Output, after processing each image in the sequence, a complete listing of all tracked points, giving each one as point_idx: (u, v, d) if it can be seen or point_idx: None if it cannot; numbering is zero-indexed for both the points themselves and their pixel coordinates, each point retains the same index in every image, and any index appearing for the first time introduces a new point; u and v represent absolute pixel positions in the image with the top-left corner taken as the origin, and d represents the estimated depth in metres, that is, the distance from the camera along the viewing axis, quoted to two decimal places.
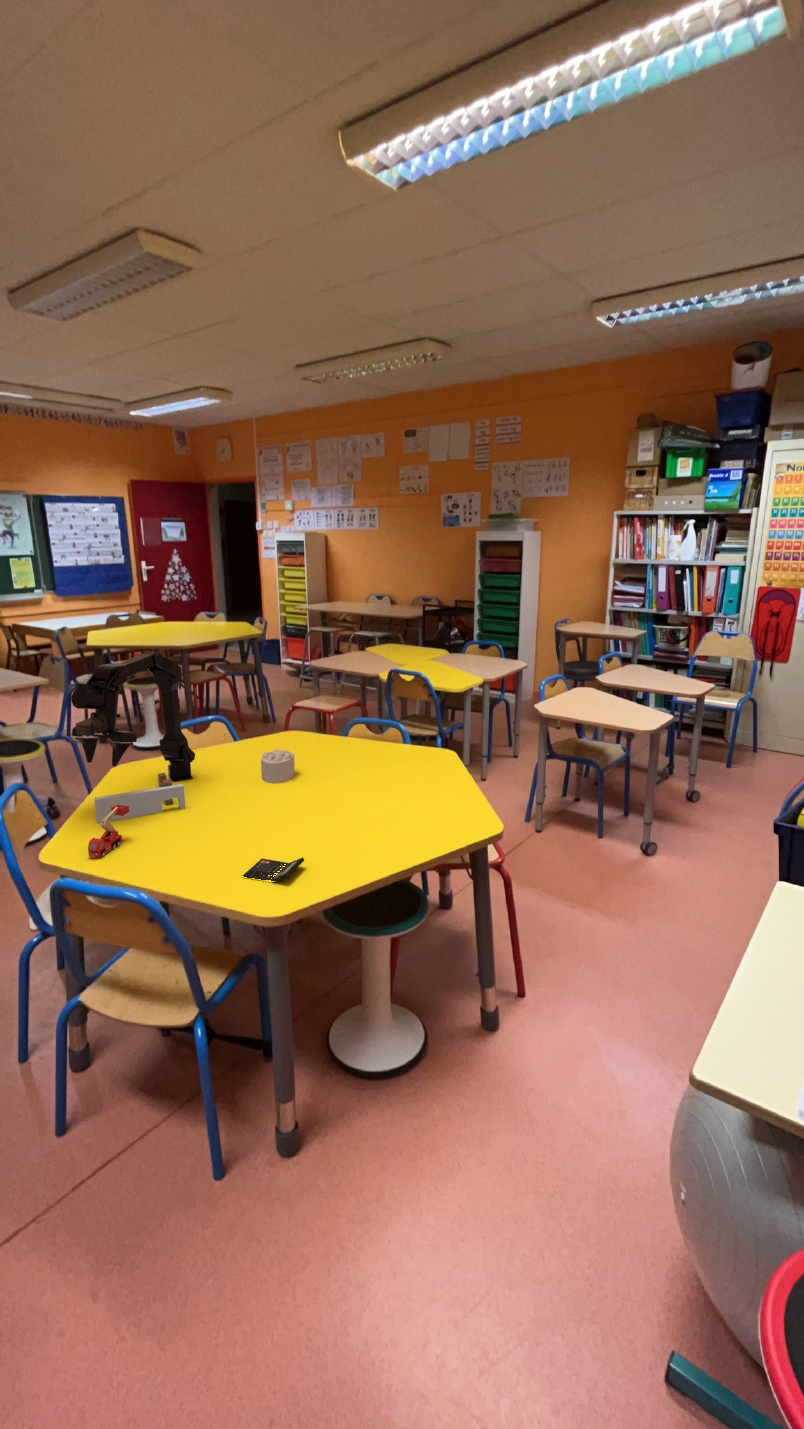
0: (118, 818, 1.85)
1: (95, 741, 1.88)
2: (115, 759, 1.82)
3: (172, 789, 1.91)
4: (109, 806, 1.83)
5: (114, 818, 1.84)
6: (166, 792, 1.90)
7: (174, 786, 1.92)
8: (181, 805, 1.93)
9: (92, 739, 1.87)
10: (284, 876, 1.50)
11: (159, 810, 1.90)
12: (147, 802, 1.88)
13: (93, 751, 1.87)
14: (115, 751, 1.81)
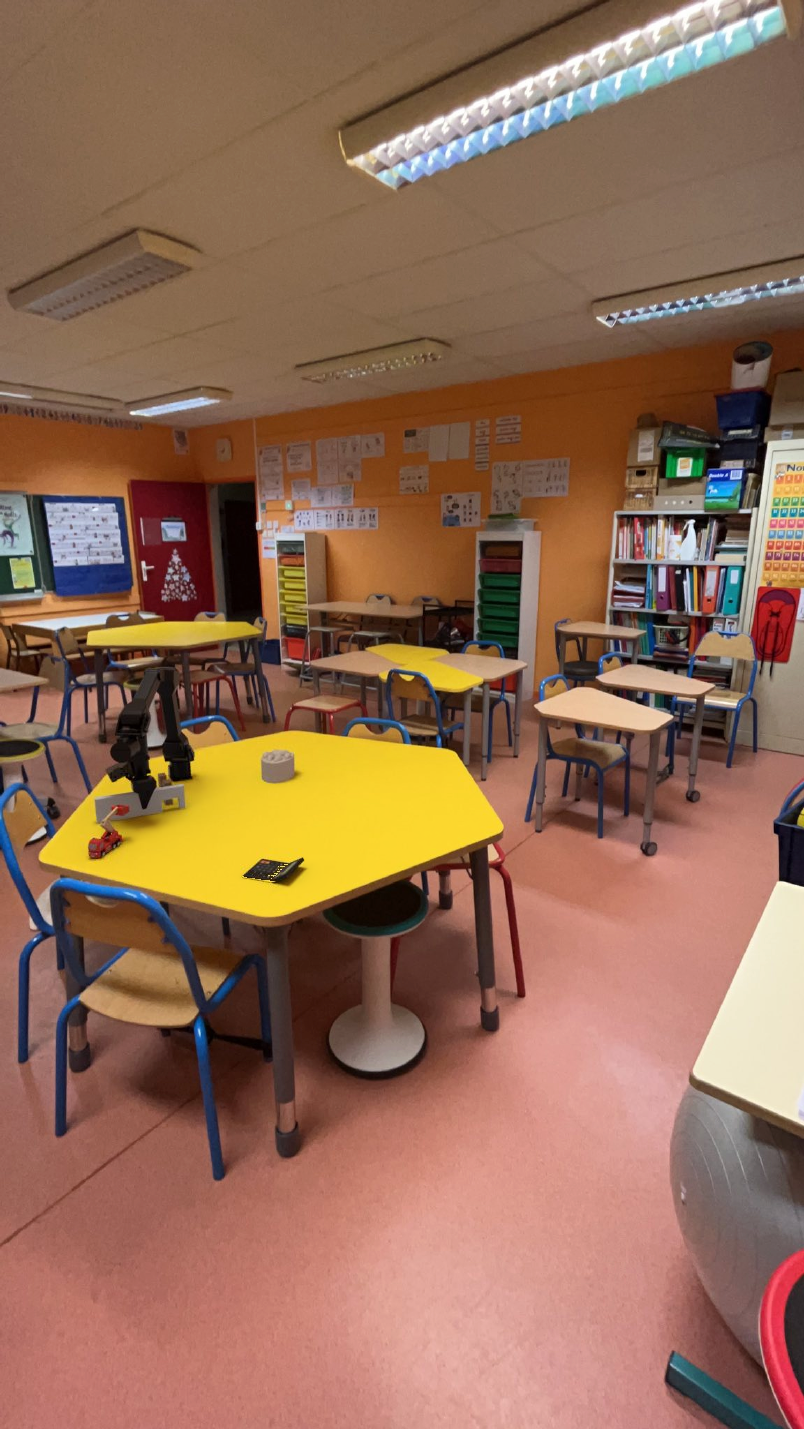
0: (118, 818, 1.85)
1: None
2: (142, 803, 1.83)
3: (172, 789, 1.91)
4: (109, 806, 1.83)
5: (114, 818, 1.84)
6: (166, 792, 1.90)
7: (174, 786, 1.92)
8: (181, 805, 1.93)
9: None
10: (284, 876, 1.50)
11: (159, 810, 1.90)
12: None
13: None
14: (139, 796, 1.82)
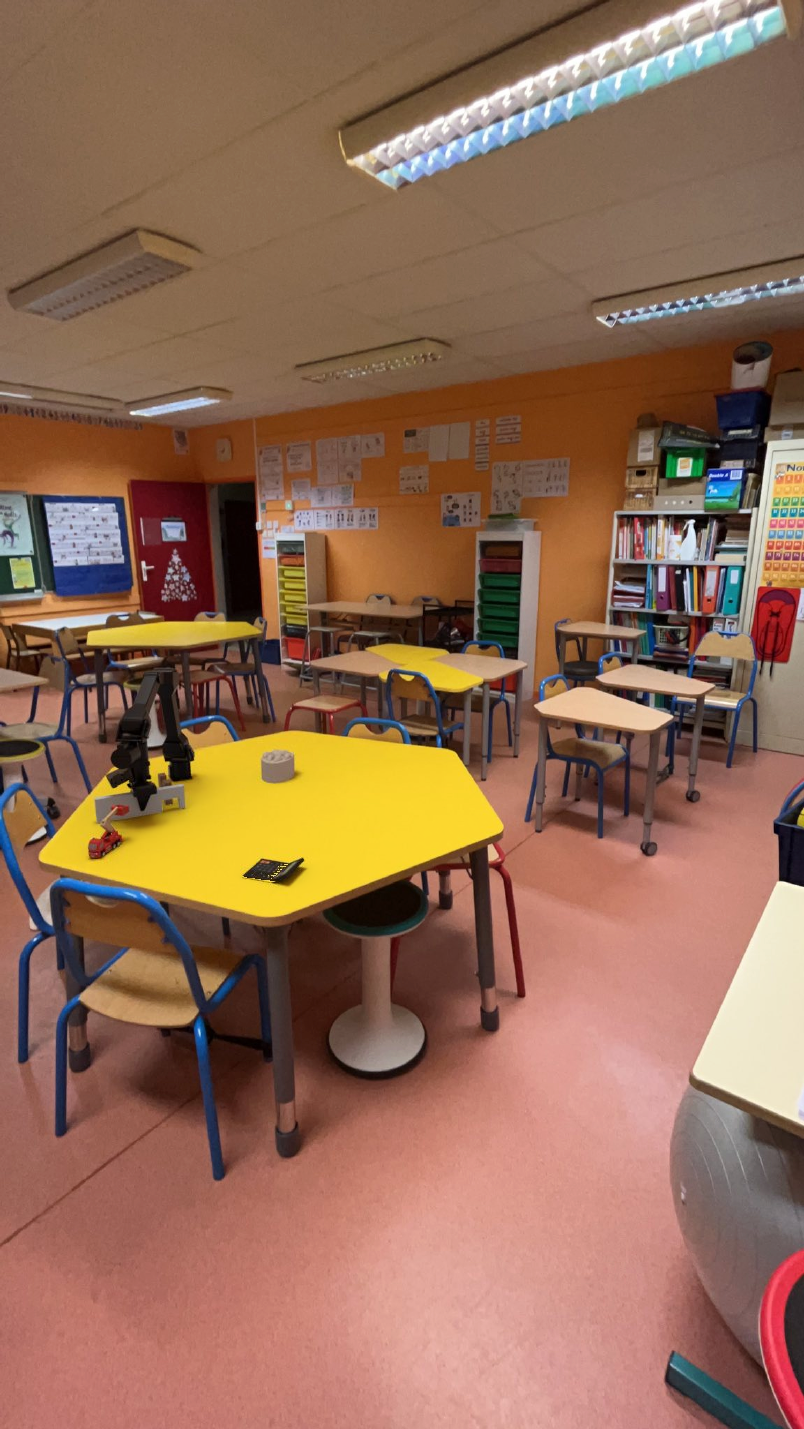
0: (118, 818, 1.85)
1: None
2: (140, 805, 1.86)
3: (172, 789, 1.91)
4: (109, 806, 1.83)
5: (114, 818, 1.84)
6: (166, 792, 1.90)
7: (174, 786, 1.92)
8: (181, 805, 1.93)
9: None
10: (284, 876, 1.50)
11: (159, 810, 1.90)
12: None
13: None
14: (137, 798, 1.85)
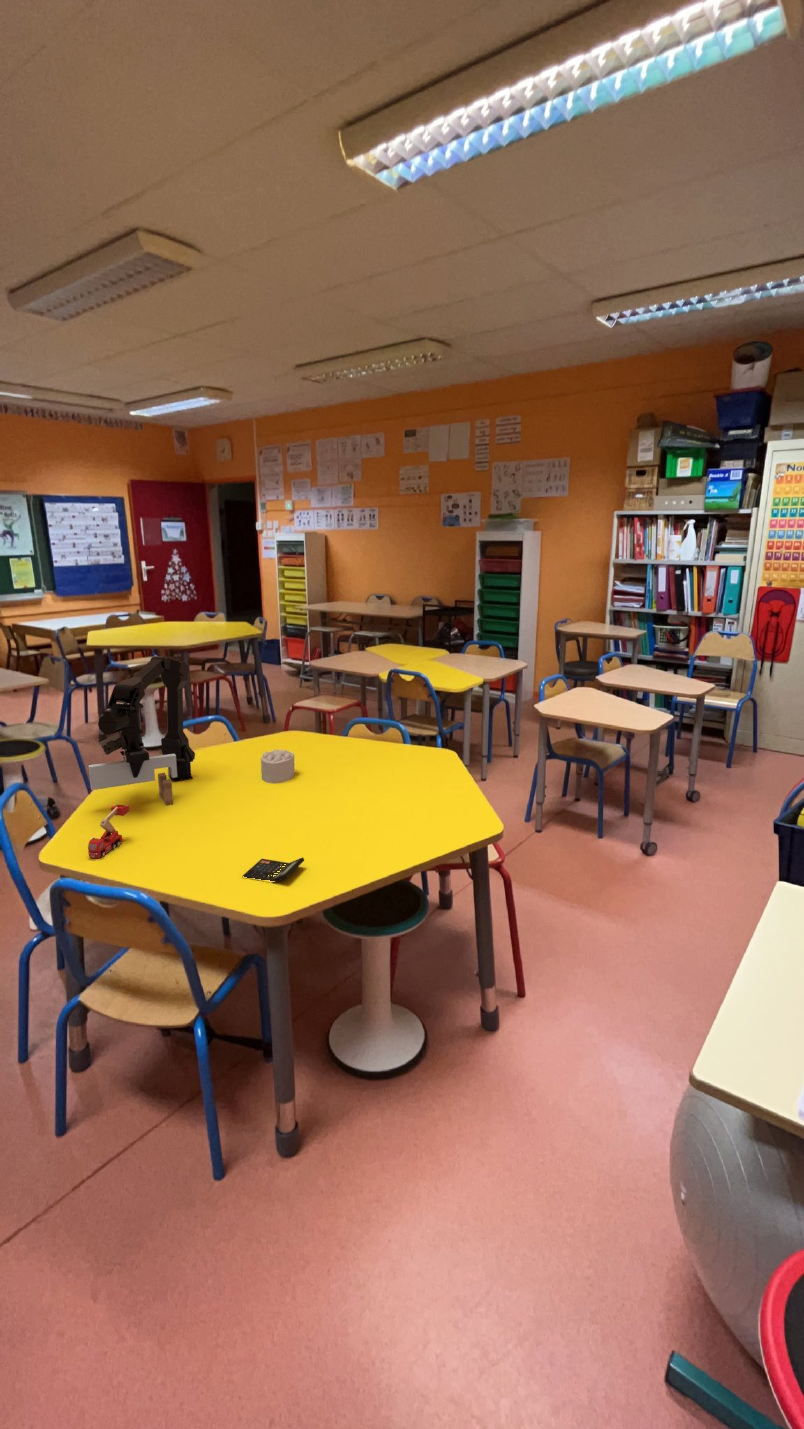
0: (112, 785, 1.91)
1: None
2: (133, 771, 1.92)
3: (164, 758, 1.97)
4: (103, 773, 1.89)
5: (108, 785, 1.90)
6: (159, 761, 1.96)
7: (166, 755, 1.98)
8: (173, 774, 1.99)
9: None
10: (284, 876, 1.50)
11: (151, 779, 1.96)
12: (140, 770, 1.94)
13: None
14: (130, 765, 1.91)
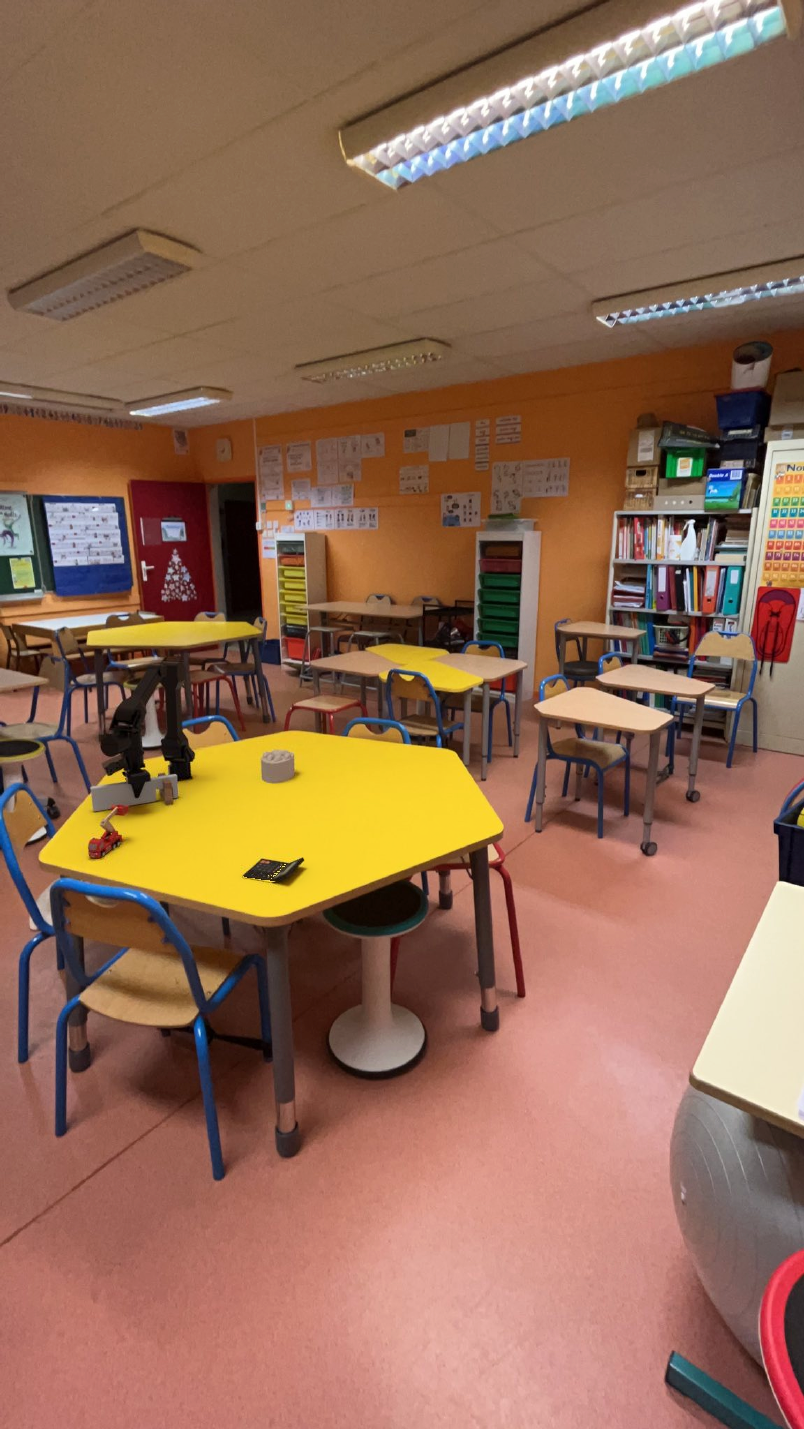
0: None
1: None
2: (135, 792, 1.93)
3: (165, 779, 1.98)
4: (105, 795, 1.90)
5: (110, 806, 1.92)
6: (160, 782, 1.98)
7: (167, 776, 1.99)
8: (174, 794, 2.01)
9: None
10: (284, 876, 1.50)
11: (153, 799, 1.98)
12: (141, 791, 1.95)
13: None
14: None
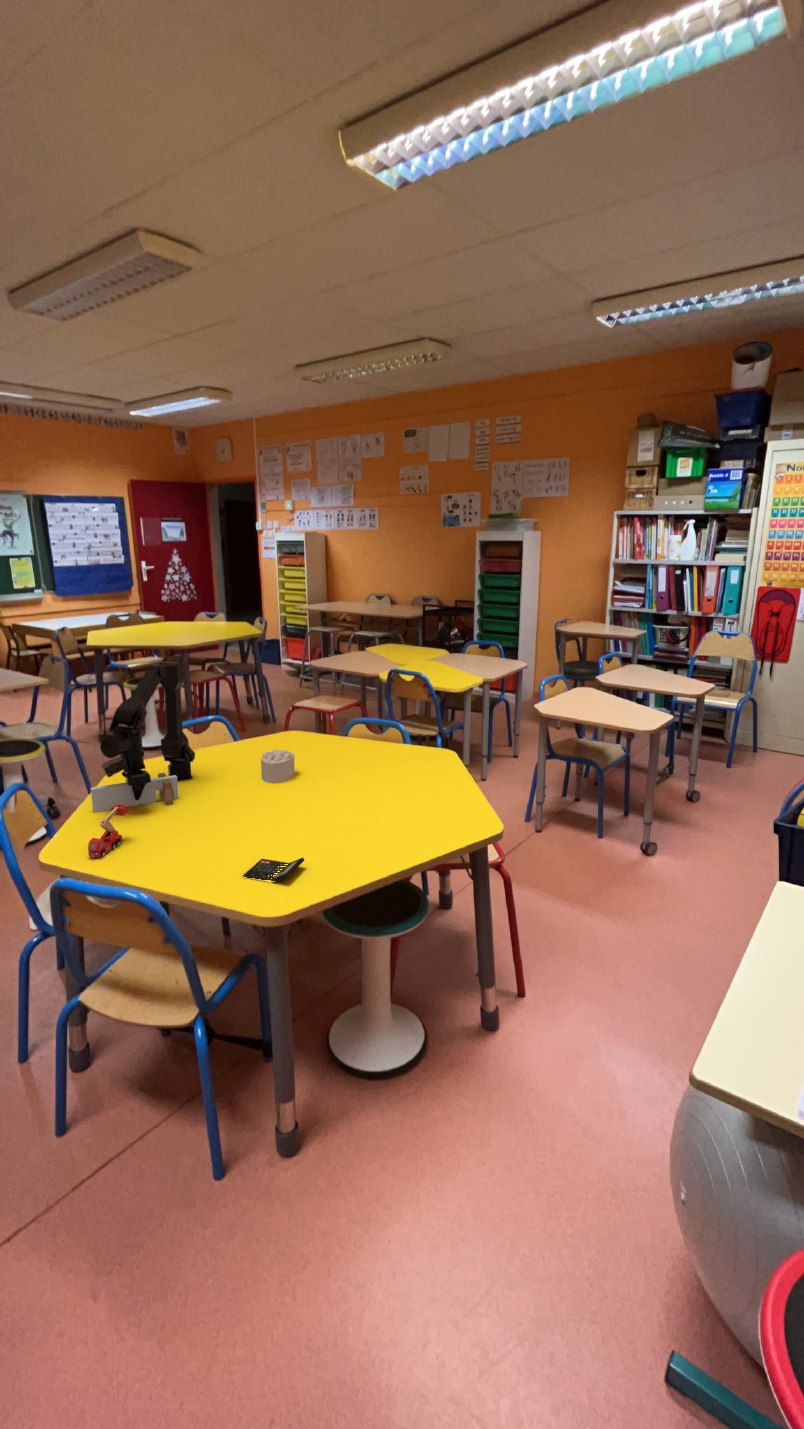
0: None
1: None
2: (135, 794, 1.93)
3: None
4: (105, 796, 1.90)
5: (110, 807, 1.92)
6: (160, 783, 1.98)
7: (168, 777, 1.99)
8: (174, 795, 2.01)
9: None
10: (284, 876, 1.50)
11: (153, 800, 1.98)
12: None
13: None
14: (132, 787, 1.92)
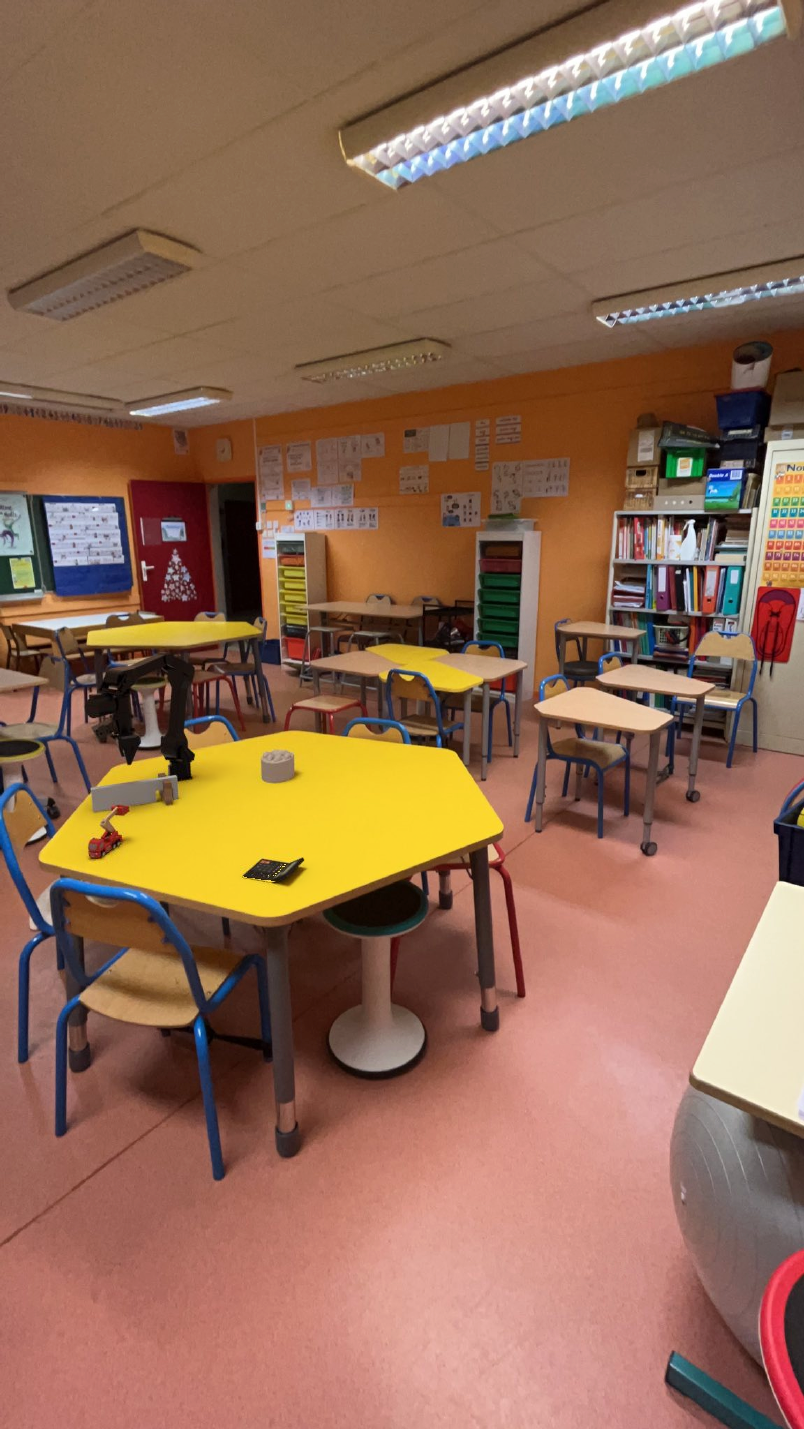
0: None
1: None
2: (127, 759, 1.93)
3: None
4: (105, 796, 1.90)
5: (110, 807, 1.92)
6: (160, 783, 1.98)
7: (168, 777, 1.99)
8: (174, 795, 2.01)
9: None
10: (284, 876, 1.50)
11: (153, 800, 1.98)
12: (141, 792, 1.95)
13: None
14: (124, 752, 1.91)
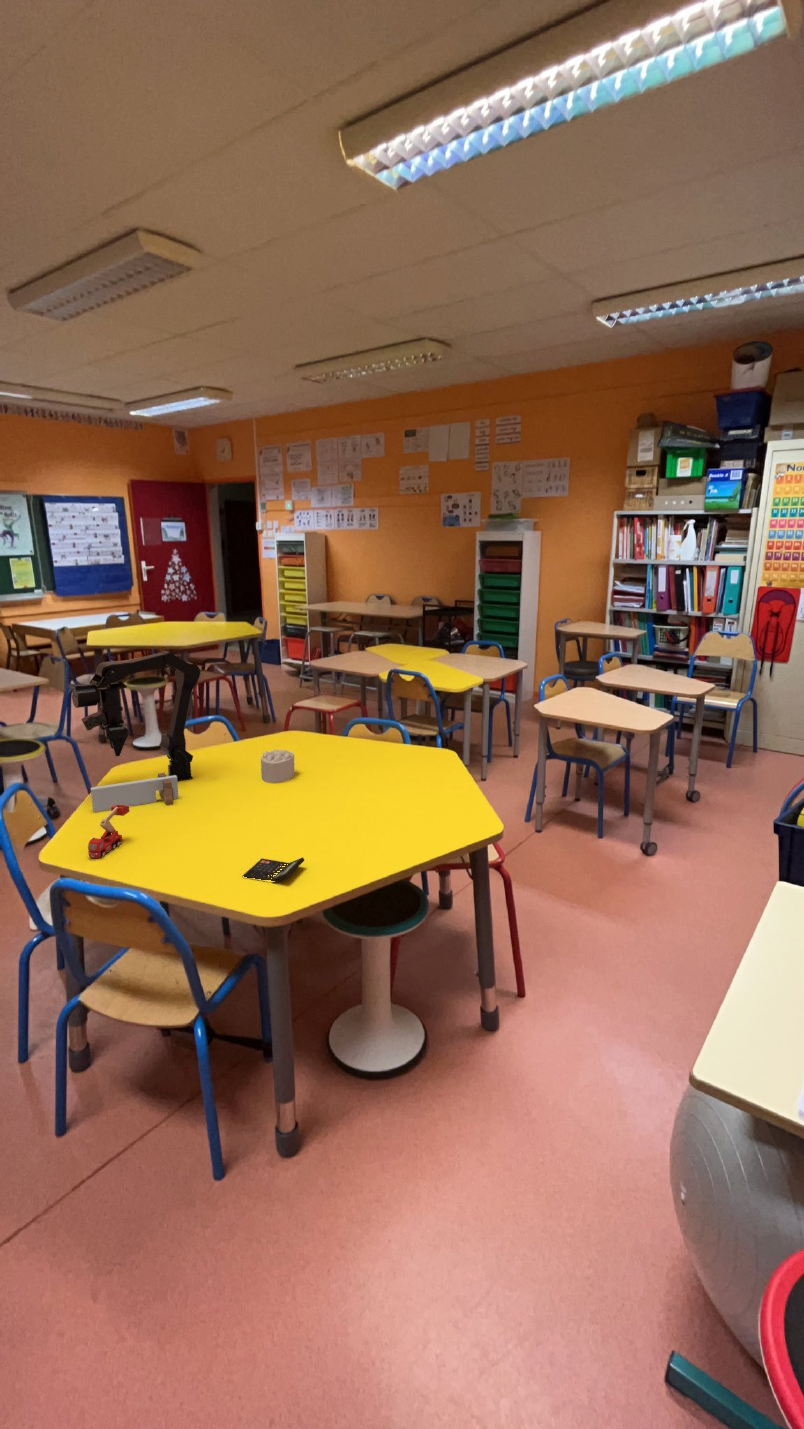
0: None
1: None
2: (115, 750, 1.98)
3: None
4: (105, 796, 1.90)
5: (110, 807, 1.92)
6: (160, 783, 1.98)
7: (168, 777, 1.99)
8: (174, 795, 2.01)
9: None
10: (284, 876, 1.50)
11: (153, 800, 1.98)
12: (141, 792, 1.95)
13: None
14: (112, 743, 1.97)
